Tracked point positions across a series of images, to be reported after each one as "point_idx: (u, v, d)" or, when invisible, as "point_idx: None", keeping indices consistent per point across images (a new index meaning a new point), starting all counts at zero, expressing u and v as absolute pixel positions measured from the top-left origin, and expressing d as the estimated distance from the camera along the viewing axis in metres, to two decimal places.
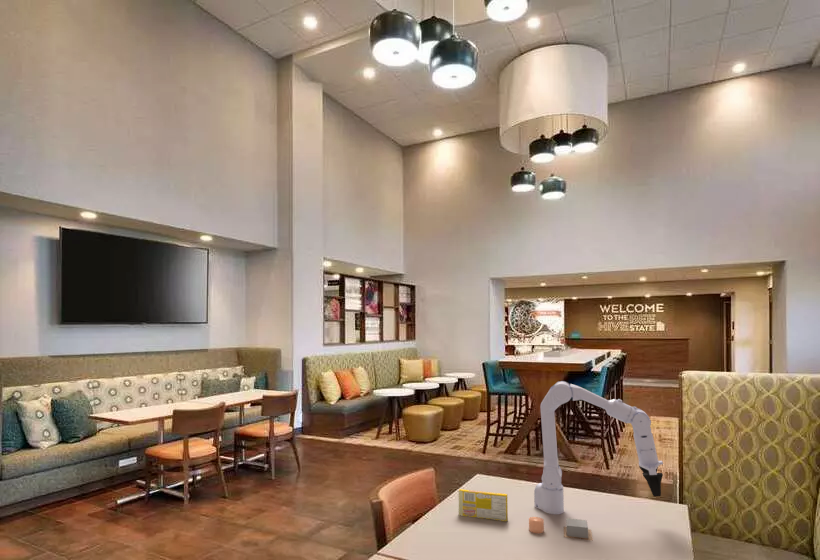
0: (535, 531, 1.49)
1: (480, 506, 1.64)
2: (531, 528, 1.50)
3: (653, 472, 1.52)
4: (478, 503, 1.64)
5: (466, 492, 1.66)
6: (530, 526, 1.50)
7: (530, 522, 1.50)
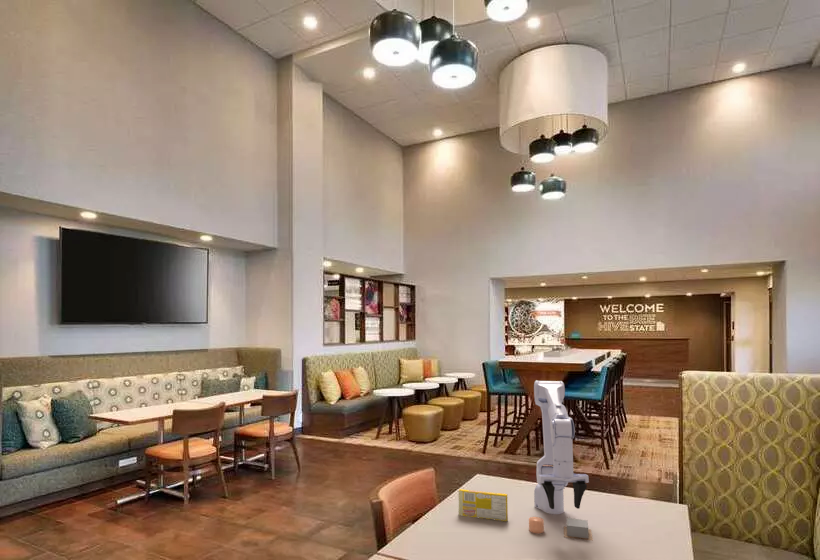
0: (535, 531, 1.49)
1: (480, 506, 1.64)
2: (531, 528, 1.50)
3: (539, 479, 1.47)
4: (478, 503, 1.64)
5: (466, 492, 1.66)
6: (530, 526, 1.50)
7: (530, 522, 1.50)
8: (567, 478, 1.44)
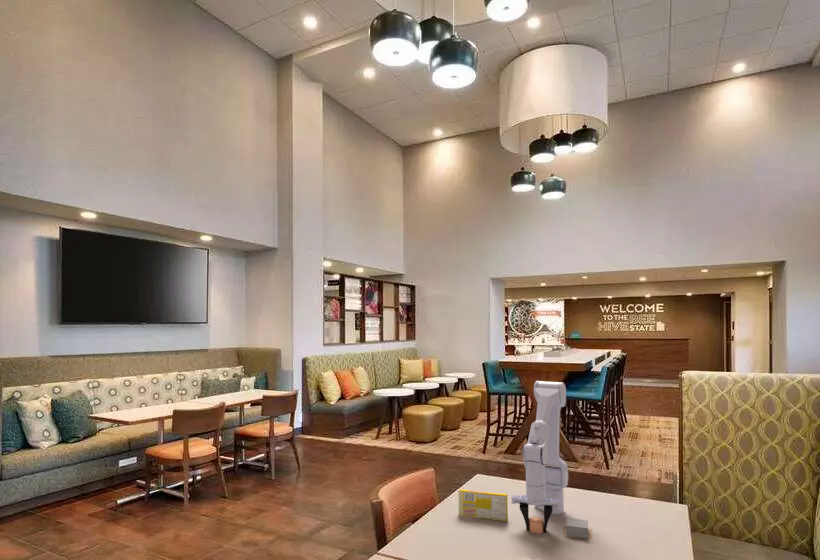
0: (535, 531, 1.49)
1: (480, 506, 1.64)
2: (531, 528, 1.50)
3: None
4: (478, 503, 1.64)
5: (466, 492, 1.66)
6: (530, 526, 1.50)
7: (530, 522, 1.50)
8: (535, 502, 1.48)
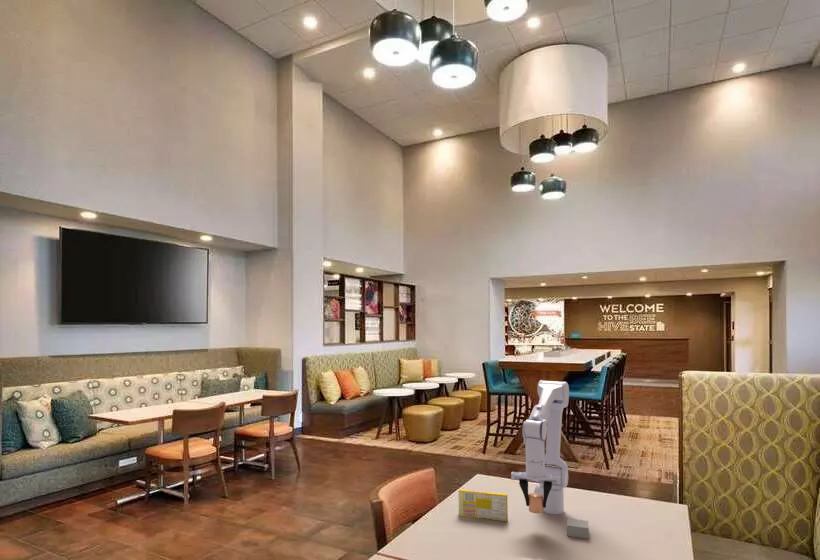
0: (535, 507, 1.50)
1: (480, 506, 1.64)
2: (530, 504, 1.50)
3: (511, 476, 1.54)
4: (478, 503, 1.64)
5: (466, 492, 1.66)
6: (530, 502, 1.51)
7: (530, 498, 1.51)
8: (534, 478, 1.49)
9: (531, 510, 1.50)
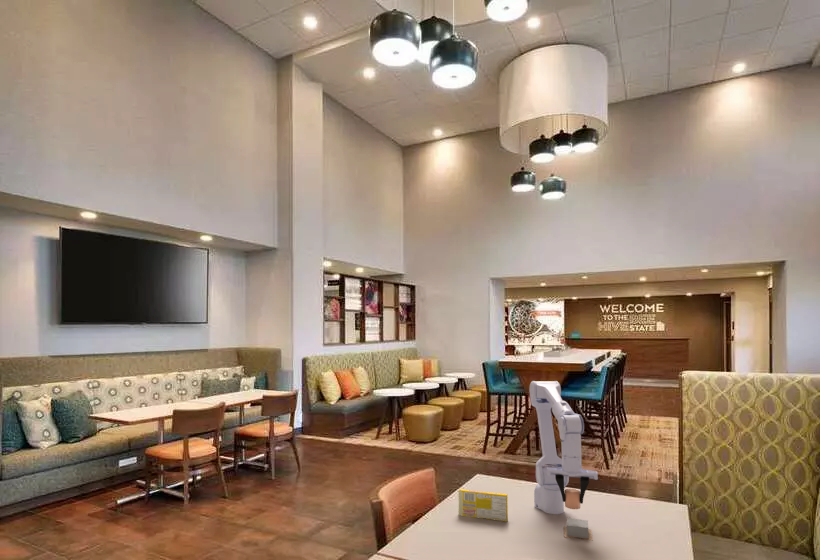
0: (572, 502, 1.48)
1: (480, 506, 1.64)
2: (567, 500, 1.49)
3: (547, 472, 1.52)
4: (478, 503, 1.64)
5: (466, 492, 1.66)
6: (566, 497, 1.49)
7: (566, 493, 1.49)
8: (571, 473, 1.47)
9: (568, 506, 1.48)
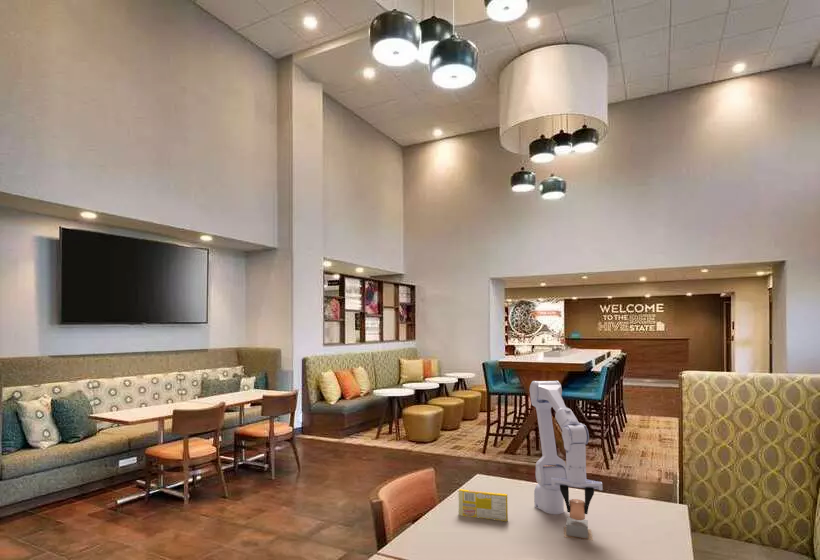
0: (576, 513, 1.47)
1: (480, 506, 1.64)
2: (572, 510, 1.48)
3: (551, 482, 1.52)
4: (478, 503, 1.64)
5: (466, 492, 1.66)
6: (571, 508, 1.49)
7: (571, 504, 1.49)
8: (576, 484, 1.47)
9: (572, 516, 1.48)
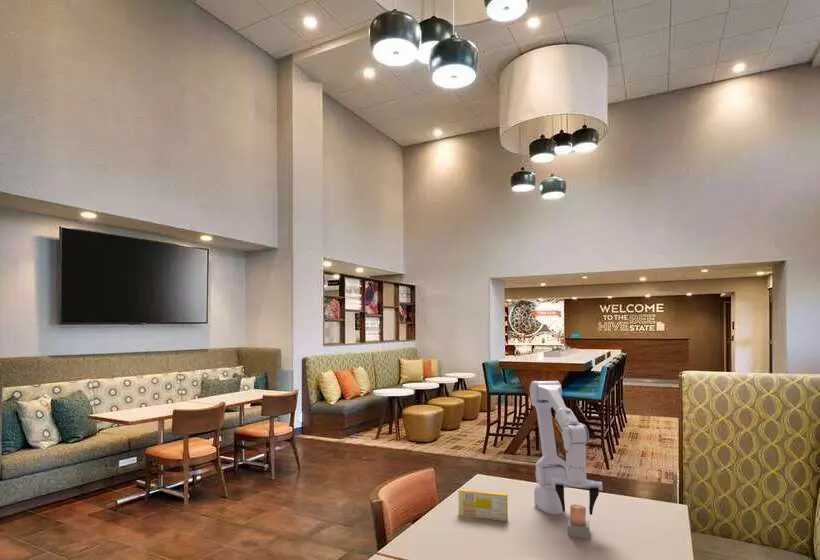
0: (577, 518, 1.47)
1: (480, 506, 1.64)
2: (572, 516, 1.48)
3: (551, 482, 1.52)
4: (478, 503, 1.64)
5: (466, 492, 1.66)
6: (572, 513, 1.49)
7: (572, 509, 1.49)
8: (576, 484, 1.47)
9: (573, 522, 1.48)
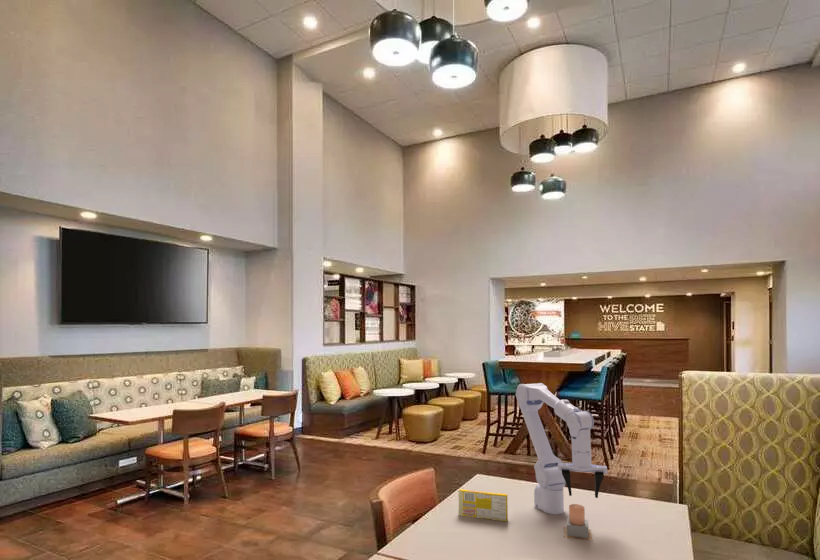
0: (576, 519, 1.47)
1: (480, 506, 1.64)
2: (571, 516, 1.48)
3: (558, 467, 1.58)
4: (478, 503, 1.64)
5: (466, 492, 1.66)
6: (570, 514, 1.48)
7: (570, 510, 1.48)
8: (582, 468, 1.53)
9: (572, 522, 1.48)
